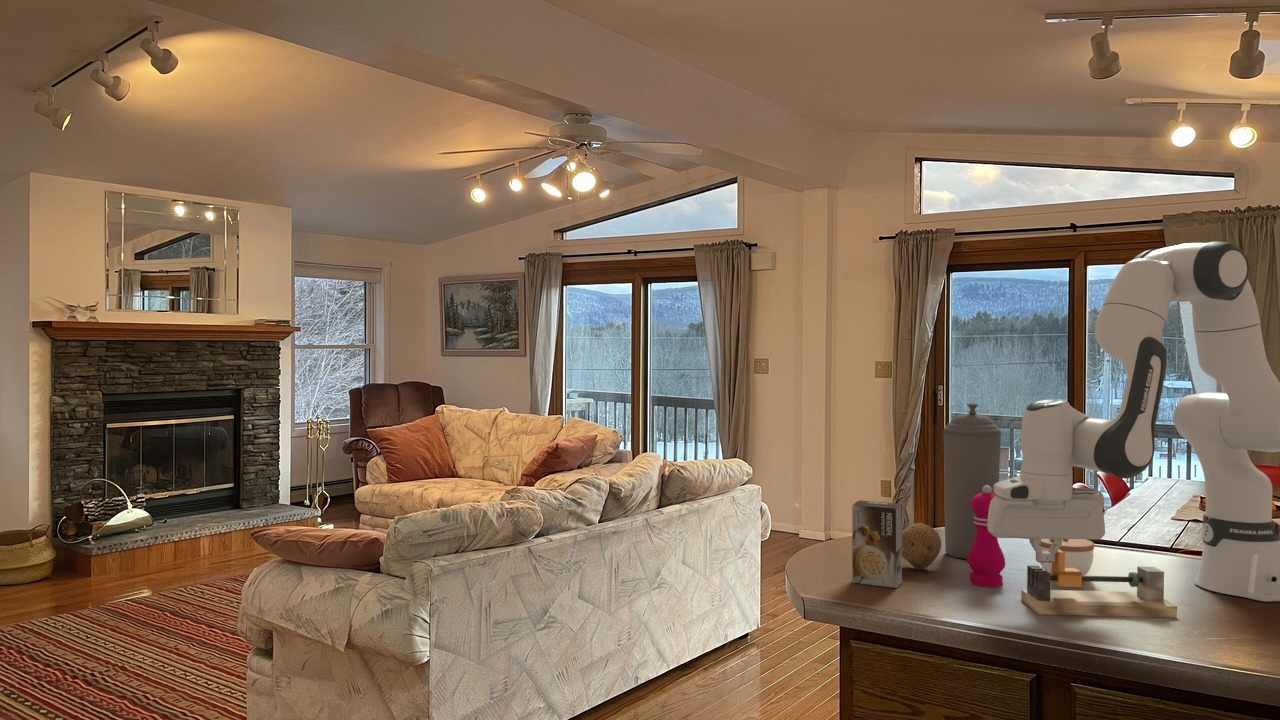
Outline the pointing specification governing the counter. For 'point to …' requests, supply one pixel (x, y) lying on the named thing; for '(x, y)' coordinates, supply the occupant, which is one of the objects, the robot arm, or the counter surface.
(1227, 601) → the counter surface
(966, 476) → the canister
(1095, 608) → the cord board
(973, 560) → the pepper mill
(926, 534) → the natural sponge
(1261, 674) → the counter surface
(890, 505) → the coffee box
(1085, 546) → the lidded jar
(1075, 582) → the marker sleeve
